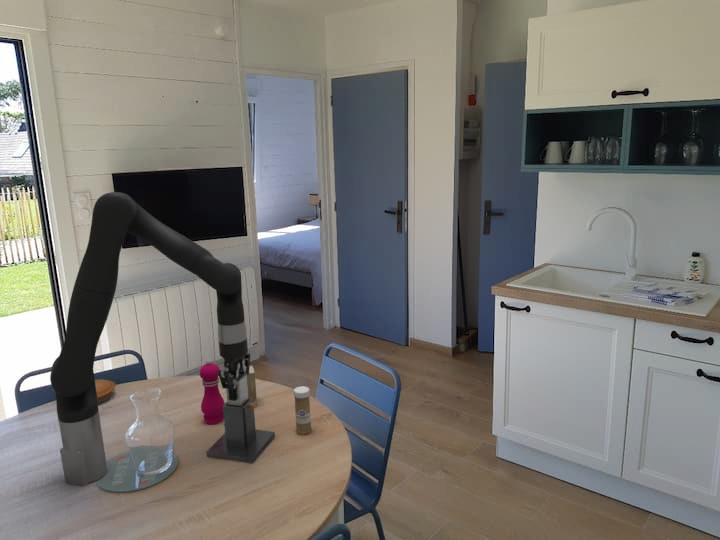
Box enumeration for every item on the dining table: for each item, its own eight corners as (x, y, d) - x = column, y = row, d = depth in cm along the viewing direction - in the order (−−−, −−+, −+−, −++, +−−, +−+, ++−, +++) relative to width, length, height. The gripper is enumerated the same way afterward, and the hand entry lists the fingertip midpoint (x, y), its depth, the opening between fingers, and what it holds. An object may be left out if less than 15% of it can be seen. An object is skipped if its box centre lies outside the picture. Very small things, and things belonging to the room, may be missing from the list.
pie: (126, 391, 191) (125, 378, 190) (93, 412, 176) (91, 398, 175) (91, 387, 195) (89, 374, 194) (56, 407, 181) (53, 393, 180)
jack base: (252, 463, 145) (249, 417, 142) (206, 456, 149) (202, 411, 146) (275, 436, 158) (272, 393, 155) (232, 430, 162) (228, 389, 159)
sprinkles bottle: (297, 436, 158) (295, 393, 155) (294, 428, 162) (292, 387, 159) (313, 433, 159) (310, 391, 156) (309, 425, 164) (307, 384, 161)
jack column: (244, 445, 151) (239, 379, 146) (230, 443, 152) (224, 377, 147) (252, 437, 155) (246, 372, 150) (238, 435, 156) (232, 371, 151)
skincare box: (242, 400, 181) (239, 366, 178) (255, 398, 182) (252, 364, 180) (244, 409, 175) (241, 374, 172) (257, 407, 176) (254, 372, 174)
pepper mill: (212, 427, 164) (206, 366, 160) (197, 420, 169) (191, 360, 164) (231, 417, 170) (225, 358, 165) (216, 411, 174) (210, 353, 170)
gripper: (233, 328, 154) (238, 384, 158) (206, 345, 141) (211, 406, 145) (257, 329, 152) (261, 386, 156) (231, 348, 139) (237, 409, 142)
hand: (237, 395), depth 150 cm, fingers closed on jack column, 4 cm apart
